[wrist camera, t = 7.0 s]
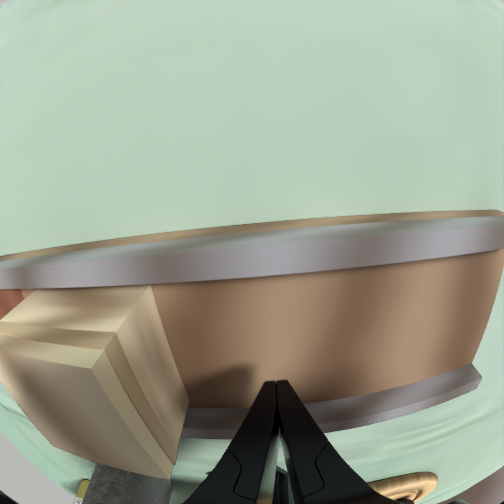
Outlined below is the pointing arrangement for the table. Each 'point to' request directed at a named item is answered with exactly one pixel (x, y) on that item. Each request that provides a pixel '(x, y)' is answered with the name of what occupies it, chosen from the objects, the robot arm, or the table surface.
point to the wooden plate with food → (407, 487)
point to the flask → (126, 487)
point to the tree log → (81, 492)
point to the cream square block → (96, 375)
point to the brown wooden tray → (303, 308)
